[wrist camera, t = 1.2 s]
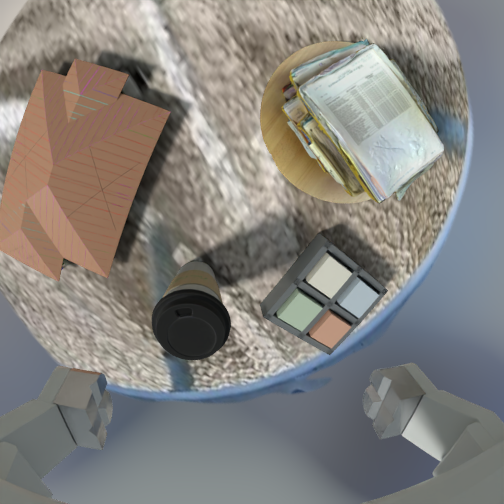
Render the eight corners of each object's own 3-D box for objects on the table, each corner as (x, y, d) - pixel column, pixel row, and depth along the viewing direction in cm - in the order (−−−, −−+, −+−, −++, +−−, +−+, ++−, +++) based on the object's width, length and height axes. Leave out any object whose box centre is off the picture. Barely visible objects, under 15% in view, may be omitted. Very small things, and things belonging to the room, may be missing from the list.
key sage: (296, 286, 47) (299, 292, 45) (319, 302, 48) (322, 308, 46) (275, 310, 48) (278, 317, 46) (299, 324, 49) (302, 331, 47)
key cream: (325, 251, 45) (329, 256, 43) (347, 268, 47) (352, 273, 45) (304, 276, 46) (307, 282, 44) (327, 292, 48) (331, 298, 46)
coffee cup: (201, 238, 45) (195, 281, 31) (238, 284, 48) (248, 339, 34) (154, 273, 46) (132, 325, 32) (192, 315, 50) (186, 376, 35)
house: (182, 96, 38) (175, 86, 31) (107, 292, 47) (91, 317, 39) (59, 57, 33) (34, 46, 25) (4, 241, 42) (-21, 256, 34)
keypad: (318, 232, 47) (327, 240, 43) (377, 280, 51) (387, 290, 48) (260, 304, 50) (263, 317, 46) (323, 342, 54) (329, 355, 51)
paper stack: (299, 226, 46) (340, 269, 31) (232, 74, 38) (241, 35, 22) (424, 169, 45) (493, 186, 30) (374, 33, 37) (434, 1, 21)
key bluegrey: (355, 275, 47) (360, 280, 45) (373, 290, 49) (379, 295, 47) (335, 298, 48) (339, 304, 46) (354, 312, 50) (359, 318, 48)
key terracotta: (327, 308, 49) (331, 314, 47) (347, 321, 50) (351, 327, 48) (307, 330, 50) (310, 336, 48) (327, 341, 51) (331, 348, 49)
